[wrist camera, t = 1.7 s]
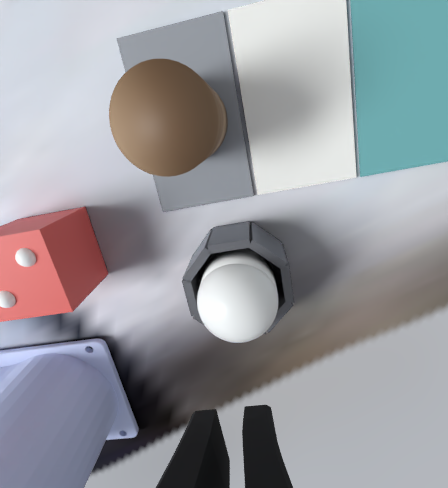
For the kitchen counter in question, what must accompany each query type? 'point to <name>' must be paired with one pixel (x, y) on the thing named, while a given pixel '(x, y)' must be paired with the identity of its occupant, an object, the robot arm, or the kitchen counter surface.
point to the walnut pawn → (166, 117)
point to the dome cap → (238, 296)
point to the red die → (48, 264)
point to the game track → (310, 92)
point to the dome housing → (237, 239)
